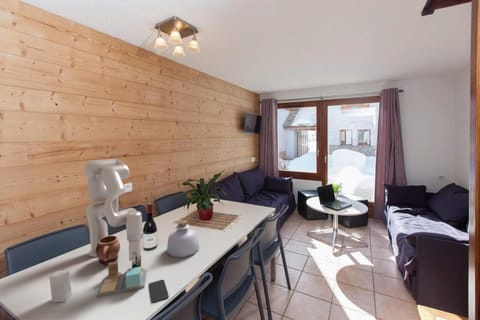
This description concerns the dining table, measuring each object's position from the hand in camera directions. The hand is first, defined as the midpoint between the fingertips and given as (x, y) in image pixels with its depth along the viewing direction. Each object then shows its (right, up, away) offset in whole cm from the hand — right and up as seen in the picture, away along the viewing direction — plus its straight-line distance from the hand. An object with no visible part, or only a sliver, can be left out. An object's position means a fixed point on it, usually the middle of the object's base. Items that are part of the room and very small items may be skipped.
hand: (137, 267), depth 120 cm
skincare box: (-26, -6, -17) cm, 32 cm away
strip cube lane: (+2, -3, -6) cm, 7 cm away
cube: (+3, -3, -10) cm, 11 cm away
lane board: (-4, -5, -7) cm, 9 cm away
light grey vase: (+18, -1, +26) cm, 31 cm away
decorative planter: (-22, -3, +12) cm, 25 cm away
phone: (+16, -6, -13) cm, 21 cm away
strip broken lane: (-10, -3, -5) cm, 12 cm away
